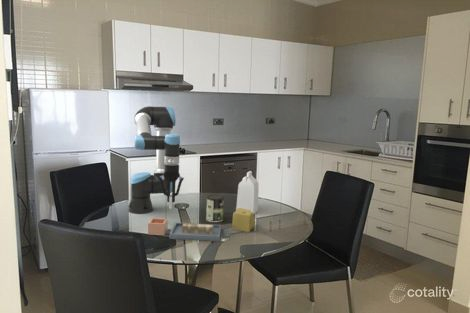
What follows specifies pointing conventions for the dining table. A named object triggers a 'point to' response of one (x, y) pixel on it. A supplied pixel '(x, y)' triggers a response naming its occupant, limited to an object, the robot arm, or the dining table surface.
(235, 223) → the cheese
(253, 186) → the milk
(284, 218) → the dining table surface
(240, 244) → the dining table surface
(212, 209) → the coffee can
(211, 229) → the light wooden bar
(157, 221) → the pink open cubby
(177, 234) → the slate tray
